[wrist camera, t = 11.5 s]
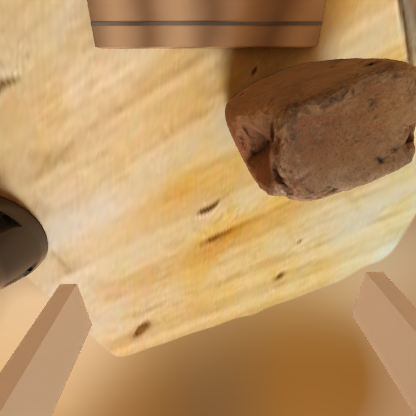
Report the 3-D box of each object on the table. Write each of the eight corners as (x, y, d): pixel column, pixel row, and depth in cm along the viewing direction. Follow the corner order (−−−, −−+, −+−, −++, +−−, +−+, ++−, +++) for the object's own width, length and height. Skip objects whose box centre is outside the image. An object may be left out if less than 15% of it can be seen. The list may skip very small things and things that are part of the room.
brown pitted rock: (305, 58, 29) (447, 34, 12) (316, 121, 32) (440, 177, 15) (217, 95, 31) (224, 121, 14) (236, 151, 34) (261, 231, 17)
